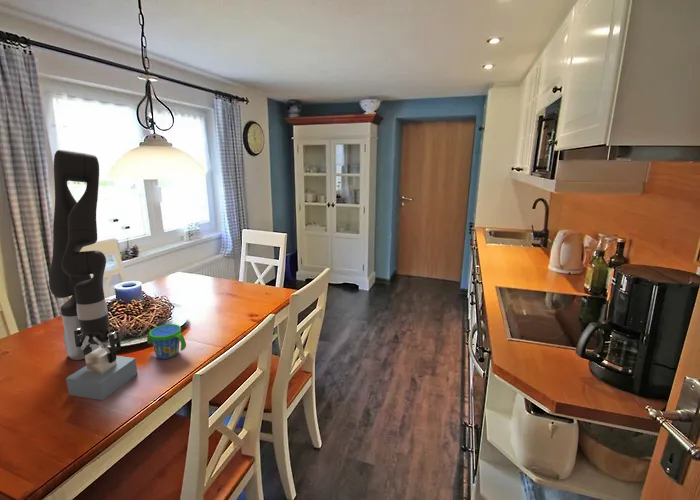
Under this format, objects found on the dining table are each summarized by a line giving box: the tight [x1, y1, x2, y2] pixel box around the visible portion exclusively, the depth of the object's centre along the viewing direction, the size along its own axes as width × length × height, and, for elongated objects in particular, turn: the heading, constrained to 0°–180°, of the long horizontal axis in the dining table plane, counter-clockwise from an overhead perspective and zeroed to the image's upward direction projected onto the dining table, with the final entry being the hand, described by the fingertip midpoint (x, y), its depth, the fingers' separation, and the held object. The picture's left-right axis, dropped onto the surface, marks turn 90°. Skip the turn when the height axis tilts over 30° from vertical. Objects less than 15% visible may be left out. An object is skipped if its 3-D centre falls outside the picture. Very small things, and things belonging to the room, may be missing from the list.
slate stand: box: [65, 355, 138, 401], centre depth 113 cm, size 12×14×6 cm
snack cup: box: [146, 323, 187, 360], centre depth 130 cm, size 16×10×10 cm
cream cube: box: [84, 347, 117, 374], centre depth 111 cm, size 6×6×6 cm
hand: (100, 360), depth 111 cm, fingers open, 8 cm apart
